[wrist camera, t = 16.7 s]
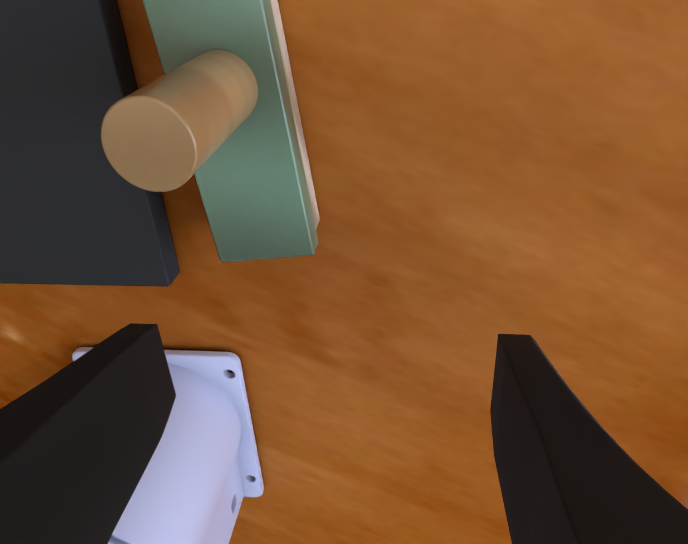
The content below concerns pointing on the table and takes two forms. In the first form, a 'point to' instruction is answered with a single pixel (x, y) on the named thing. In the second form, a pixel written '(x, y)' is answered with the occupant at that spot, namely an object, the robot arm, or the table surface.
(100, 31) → the mat
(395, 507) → the table surface
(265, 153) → the brush
